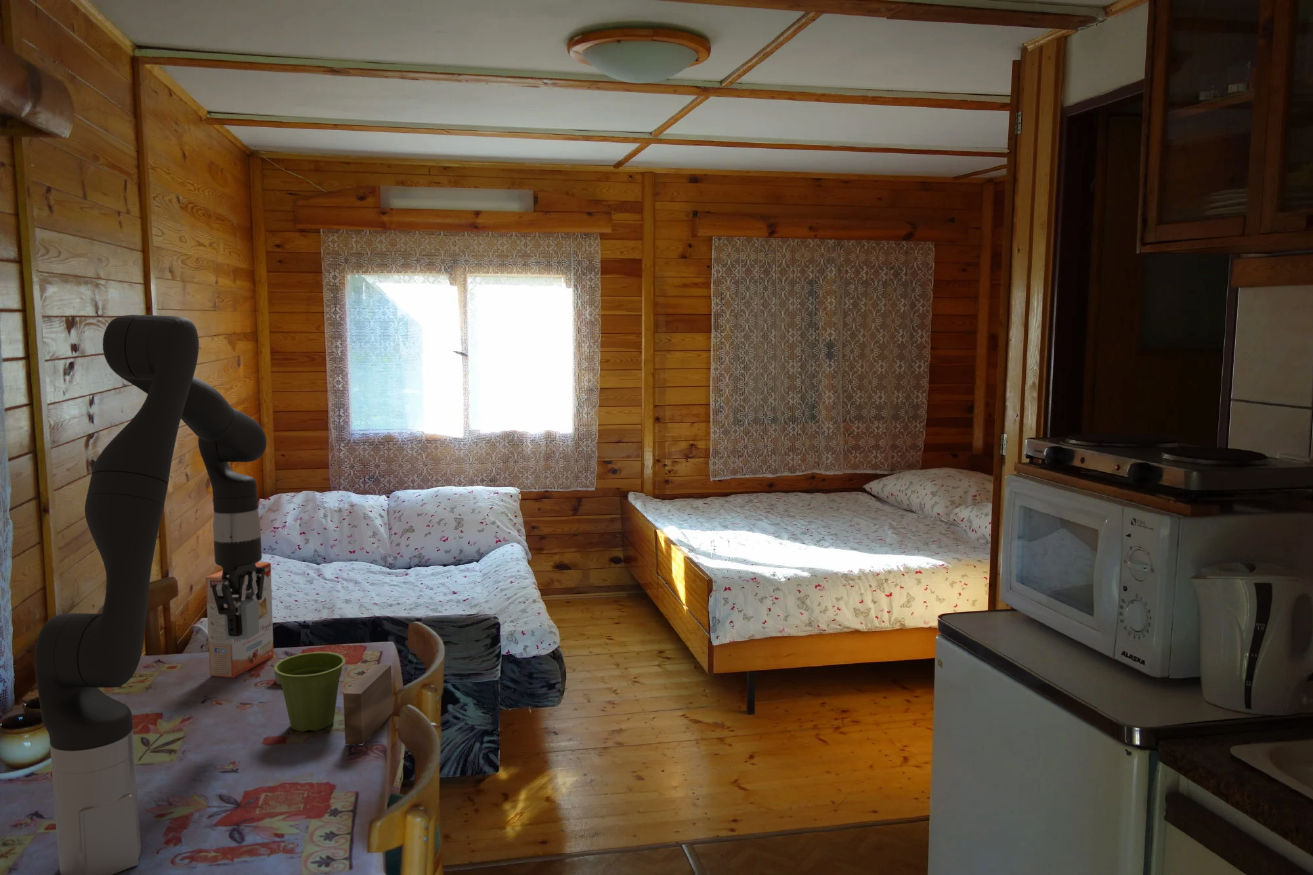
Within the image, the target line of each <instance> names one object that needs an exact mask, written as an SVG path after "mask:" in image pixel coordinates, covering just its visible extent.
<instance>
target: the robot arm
mask: <svg viewBox="0 0 1313 875" xmlns="http://www.w3.org/2000/svg"><path fill="white" fill-rule="evenodd" d="M199 346H200V340H199V335H198V330H197V327H196V326H195V324H194V323H193V322H192V321H191V320H190V319H189V318H188V317H182V316H177V315H159V314H158V315H152V314H127V315H121V316H117V317H114V318H113V319H112V320H111V321H110V322H108V324H107V326H106V327H105V330H104V333H103V337H102V350H103V356H104V358H105V362H106V363H107V364H108V366H109V368H110V369H111V370H112V372H114V373H115V374H116V375H117V376H119V377H120V378H121V379H122V380H124V381H126V382H128V383H129V384H131V385H133V386H134V387H136V388H138V389H139V390H141V391H142V392H143V393H145V394H147V396H146V397H145V400H144V402H143V404H142V406H141V408H140V409H139V410H138V411H137V413H136V414H135V415H134V416H133V418H131V420H129V422H127V424H126V425H125V426H124V427H123V428H122V429H121V430H120V431H118V433H117V434H116V435H115V436H114V438H112V439H111V440H110V441H109V443H108V444H107V445H106V446H105V447H104V448H103V450H102V451H101V453H100V454H99V455H98V457H97V458H96V460H95V462H94V463H93V464H94V465H93V468H92V471H91V476H90V480H89V485H88V489H87V493H86V497H85V503H84V514H85V520H86V524H87V527H88V529H89V533H90V534H91V537H92V539H93V541H94V544H95V545H96V548H97V549H98V553H99V555H100V556H101V559H102V560H101V561H102V562H103V566H104V569H105V576H106V579H105V581H106V582H105V584H106V585H105V596H104V603H103V607H102V611H101V613H89V612H88V613H85V612H84V613H83V612H82V613H81V612H80V613H79V612H77V613H75V612H74V613H73V612H72V613H61V614H60V613H59V614H58V615H56V616H55V615H54V616H53V617H51V618H50V619H48V621H47V622H46V623H44V625H43V626H42V628H41V630H40V631H39V633H38V636H37V639H36V642H35V647H34V673H35V680H36V687H37V693H38V694H37V695H38V701H39V707H40V709H39V710H40V713H41V714H40V716H41V721H42V724H43V726H44V728H45V729H46V731H47V733H48V736H49V745H50V746H49V748H50V760H51V776H52V778H51V779H52V788H53V790H52V791H53V803H54V804H53V805H54V816H55V828H56V829H55V830H56V843H57V851H58V853H57V854H58V865H59V874H60V875H115V874H118V873H120V872H122V871H125V870H127V869H131V868H133V867H135V866H138V865H139V857H140V856H141V854H142V848H141V845H142V844H141V830H140V820H139V804H138V803H139V802H138V788H137V787H138V786H137V773H136V760H135V743H134V742H135V741H134V726H133V714H132V713H133V712H132V711H131V708H130V707H129V706H128V705H127V704H126V703H123V702H121V701H119V700H116V699H114V698H112V697H110V696H109V695H107V694H106V693H104V692H103V691H102V690H101V689H100V688H107V689H108V688H110V689H111V688H118V687H121V686H124V685H125V684H127V683H128V682H129V681H130V679H131V680H132V678H133V676H134V674H135V673H136V671H137V669H138V666H139V664H140V661H141V659H142V658H141V657H142V653H143V650H144V649H143V648H144V641H145V634H146V633H145V632H146V624H147V614H148V613H147V612H148V604H149V603H148V602H149V592H150V583H151V576H152V568H153V567H152V566H153V562H154V556H155V549H156V545H157V539H158V533H159V529H160V525H161V522H162V521H161V520H162V516H163V513H164V507H165V505H166V504H165V503H166V497H167V494H168V493H167V492H168V486H169V481H170V476H171V468H172V467H171V466H172V461H173V457H174V451H175V446H176V441H177V437H178V431H179V427H180V423H181V421H182V422H183V423H184V424H185V426H187V428H188V429H190V430H191V431H192V432H193V434H195V435H196V436H197V437H198V439H197V443H198V450H199V454H200V456H201V459H202V461H203V464H204V466H205V469H206V473H207V475H208V476H207V477H208V479H209V481H210V485H211V489H212V501H213V502H212V505H213V522H212V532H213V537H212V538H213V549H214V550H213V553H214V562H215V564H216V565H218V566H219V567H221V568H222V571H223V572H222V581H221V582H220V583H219V584H213V586H212V591H213V595H214V598H215V602H216V606H217V609H218V613H219V614H220V615H226V616H227V621H228V635H229V636H237V637H238V636H240V635H242V619H241V615H240V614H241V606H242V602H243V601H244V600H245V599H258V600H261V599H262V593H263V584H264V575H265V567H256V565H255V563H257V562H261V560H262V559H263V554H262V551H263V550H262V537H261V536H262V534H261V532H262V531H261V519H260V514H259V508H258V506H259V505H258V485H257V481H256V479H255V478H254V477H253V476H251V475H247V474H242V473H238V472H236V471H234V470H233V469H232V468H231V466H230V464H229V463H250V462H255V461H257V460H258V459H260V458H261V457H262V456H263V454H265V451H266V449H267V437H266V436H267V435H266V433H265V431H264V429H263V428H262V426H261V425H260V424H259V422H257V420H255V419H254V418H253V417H251V416H249V415H247V414H245V413H243V412H242V411H240V410H238V409H236V408H234V407H232V405H230V403H229V402H228V401H227V400H226V398H225V397H224V396H223V394H221V392H219V390H217V389H216V388H215V387H214V386H212V385H211V384H209V383H208V382H206V381H203V380H202V379H200V378H198V377H196V376H194V375H195V372H196V368H197V364H198V360H199V359H198V358H199V350H200V347H199ZM255 579H256V580H255ZM232 595H238V597H232ZM233 601H235V602H236V608H235V606H234V602H233ZM223 604H225V608H224V605H223Z"/></svg>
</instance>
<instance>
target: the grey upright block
mask: <svg viewBox="0 0 1313 875" xmlns="http://www.w3.org/2000/svg"><path fill="white" fill-rule="evenodd" d="M233 602H234V606H235V608H236V602H235V601H233ZM224 608H225V605H224ZM240 615H241V619H242V635H240V636H238V637H237V636H229V635H228V621H227V616H226V615H224V617H225V635H226V639H249V638H251V637H253V636H254V635H256V634H257V633H259V616H258V599H245V600H244V601H243V602H242V606H241V614H240Z"/></svg>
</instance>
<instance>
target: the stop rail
mask: <svg viewBox="0 0 1313 875" xmlns="http://www.w3.org/2000/svg"><path fill="white" fill-rule="evenodd" d="M392 680H393V679H392V664H380V663H379V664H377V663H376V664H374V665H373V666H372V667H371V668H370V669H369V670H366V672H365V673H364V674H363V675H362V676H361V677H359V679H357V680H356V681H355V682H354V683H353V684H352V685H351V686H350V687H348V689H346V690H345V691H344V692H343V695H342V696H343V697H342V698H343V718H344V741H345V742H344V744H363V743H364V742H365V741H366V740H367V739H368V738H369V737H370V736H371V735H372V734H373V735H374V733H375V732H377V730H378V729H379V728H380V727H381V726H382V725H383V723H385V721H386V720H388V719H389V717H390V716H391V715H392V714H393V712H394V711H393V710H394V709H393V707H394V706H393V684H392ZM373 732H374V733H373ZM373 735H372V736H373ZM372 736H371V737H372ZM371 737H370V738H371ZM370 738H369V739H370ZM369 739H368V740H369ZM368 740H367V741H368ZM367 741H366V742H367ZM366 742H365V743H366ZM365 743H364V744H365ZM364 744H363V745H364Z"/></svg>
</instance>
